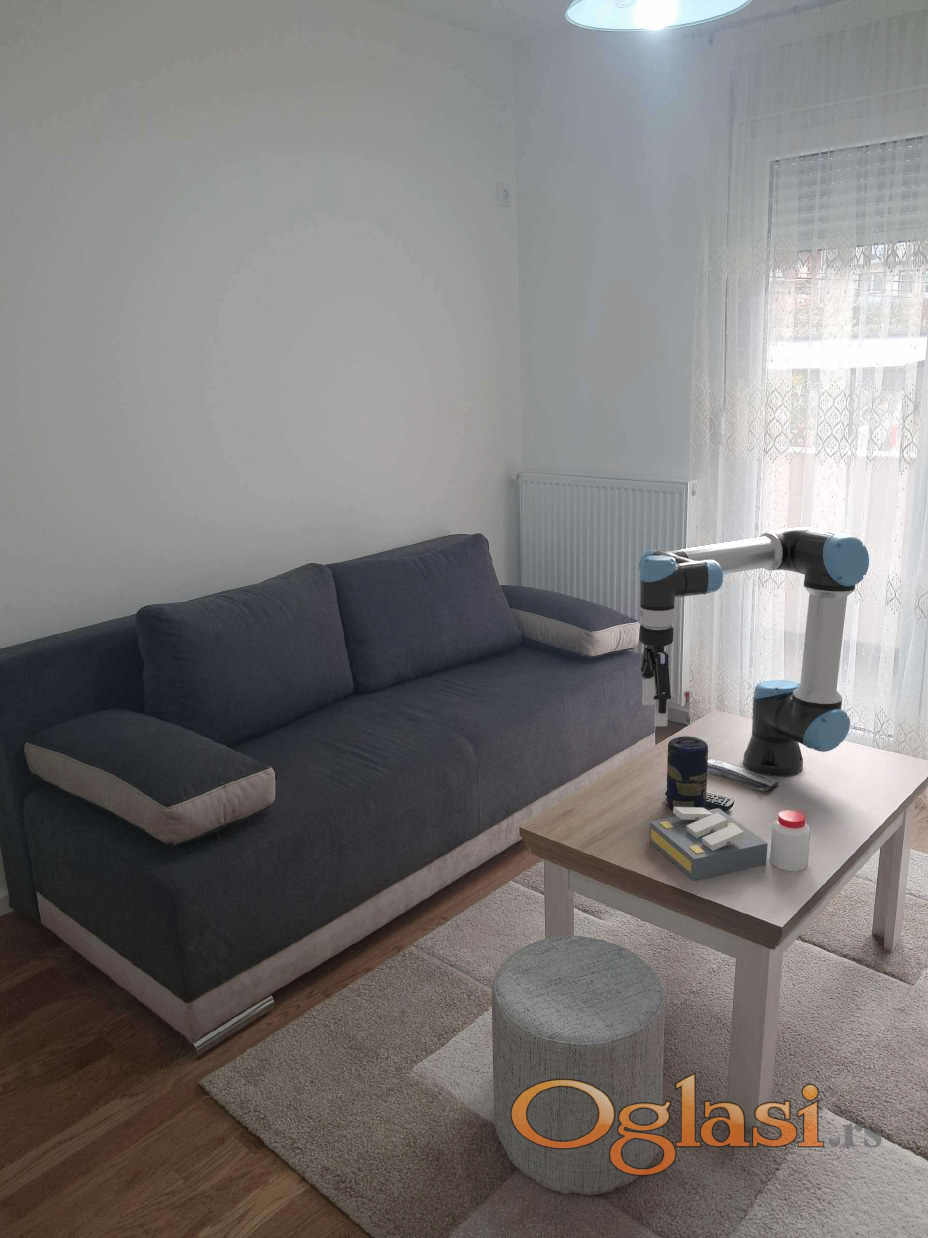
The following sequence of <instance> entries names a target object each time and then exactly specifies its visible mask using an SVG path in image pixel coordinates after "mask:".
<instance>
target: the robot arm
mask: <svg viewBox="0 0 928 1238" xmlns="http://www.w3.org/2000/svg"><path fill="white" fill-rule="evenodd" d="M869 567H870V555H869V551H868V549H867V546H866V545H865V544H864V543H863V541H862V540H861V539H860V538H858V537H856V536H854V535H850V534H848V533H845V532H841V531H835V530H834V531H833V530H828V529H822V528H821V529H820V528H817V527H812V526H811V527H809V526H802V527H801V526H799V527H792V528H786V529H780V530H774V531H768V532H764V533H762V534H761V535H760V536H759V537H757V538H748V539H743V540H742V539H741V540H737V541H730V542H728V541H727V542H723V543H716V544H715V543H714V544H710V545H709V544H708V545H704V546H697V547H690V548H683V549H678V550H669V551H663V550H660V549H657V550H656V549H651V550H648V551H646V552H644V553H643V555H642V556H641V558H640V559H639V562H638V571H639V573H640V575H639V580H640V583H639V584H640V587H639V588H640V589H639V591H640V592H639V593H640V594H639V596H640V597H639V598H640V599H639V600H640V601H639V605H640V608H639V609H640V610H639V611H637V616H639V623H640V626H639V629H638V630H639V633H638V634H639V635H638V636H639V637H638V640H639V642H640V643H641V644H642V645H643V653H642V659H641V666H640V672H641V676H642V677H643V678H642V691H641V692H642V696H641V699H642V701H641V705H642V706H654V727H668V717H669V715H668V714H669V712H668V711H669V700H671V699H672V695H671V694H672V693H671V683H670V682H671V681H670V669H669V653H667V651H665V647H666V646H670V645H671V644H673V643H674V637H675V636H674V633H675V632H674V631H675V628H674V625H675V613H676V612H675V609H676V607H675V605H676V604H675V602H676V599H677V598H682V597H689V596H699V595H700V596H701V595H707V594H711V593H715V592H717V591H718V590H720V589H721V587H722V586H723V581H724V575H727V574H729V575H730V574H733V573H734V574H735V573H741V572H747V571H752V570H759V569H764V570H766V571H770V572H771V571H779V570H780V571H781V570H782V571H789V572H794V573H798V574H801V575H804V580H803V588H805V590H806V591H807V592H808V593H809V595H808V596H809V597H808V603H807V604H808V605H807V614H806V615H807V616H806V623H805V624H806V625H805V634H804V635H805V636H804V643H803V653H802V663H801V673H800V680H799V682H798V681H797V682H796V681H795V680H794V681H793V680H787V679H786V680H785V679H784V680H783V679H780V680H779V679H778V680H777V679H775V680H765V681H762V682H759V683H758V684H757V685H756V686H755V688H754V691H753V697H752V721H751V722H752V723H751V724H752V725H751V735H750V736H751V737H750V738H749V742H748V745H747V748H746V749H745V751H744V753H743V760H742V761H743V765H744V766H745V767H746V768H747V769H749V770H750V771H753V772H755V773H757V774H762V775H766V776H775V777H787V776H793V775H796V774H799V773H800V772H802V771H803V768H804V767H803V766H804V758H803V755H802V751H801V747H800V745H802V746H805V748H808V749H810V750H814V751H817V752H822V753H825V752H830V751H832V750H834V749H836V748H837V747H839V746H840V745H841V744H842V742H844V741H845V739H846V737H847V736H848V734H849V731H850V727H851V719H850V717H849V715H848V713H847V712H846V711H844V710H843V709H842V705H843V696H842V695H841V694H840V692H839V691H838V683H839V682H838V681H839V671H840V666H841V665H840V664H841V655H842V648H843V647H842V644H843V638H844V636H843V635H844V630H845V629H844V628H845V618H846V609H847V602H848V601H847V600H848V596H849V595H851V594H852V593H853V592H855V590H856V585H858V584H860V582H862V581H863V579H864V576H866V575H867V573H868V571H869ZM655 694H656V695H655Z"/></svg>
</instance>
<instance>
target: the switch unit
mask: <svg viewBox="0 0 928 1238" xmlns="http://www.w3.org/2000/svg"><path fill="white" fill-rule="evenodd" d="M707 810H708V811H709V812H710V813H712V814H715V813H717V812H718V813H719V814H720V815H722V816H723V817H724V818H726V819H727V822H728V825H727V826H724V827H722V828H720V829H717V830H715V832H716V831H719V830H721V829H723V828H726V827H728V826H731V825H733V824H734V825H735V826H737V827H738V828H740V829H741V830H742V831H744V838H741V839H739V840H737V841H734V842H732V843H731V845H730V846H728V845H725V846H723V847H721V848H718V849H716V850H714V851H712V850H711V849H709V848H708V847H707V846H706V845H704V844H703V841H702V837H705V836H707V835H709V834H712V833H711V832H710V833H708V834H705V835H703V836H701V837H698V838H696V837H694V836H693V835H692V834H691V833H689V832H688V831H687V826H686V825H689V824H691V823H694V822H696V821H695V820H684V819H680V818H679V817H678V816H676V815H675V816H671V817H666V818H663V819H661V818H660V819H657V820H656V819H655V820H651V821H650V822H649V843H650V844H651V845H652V846H654V848H656V849H657V850H658V851H659V852H660V853H661V854H663V856H665V857H666V858H667V859H668V860H669V861H670V862H672V863H673V864H674V865H675V866H676V867H677V868H678V869H680V870H681V871H682V872H683V873H684V874H685V875H686V876H688V877H689V878H690V879H691V880H692V881H698V880H702V879H706V878H707V879H708V878H711V877H716V876H721V875H725V874H729V873H734V872H737V871H744V870H747V869H752V868H756V867H760V866H765V865H767V860H768V859H767V857H768V845H769V843H768V842H767V841H765V840H764V839H762V838H761V837H760V836H758V835H757V834H756V833H754V832H753V831H752V830H750V829H749V828H747V827H746V826H744V825H743V824H742V823H740V822H738V821H737V820H736V819H735V818H733V817H732V816H731V815H729V814H728V813H726V812H725V811H723V810H722V809H721V808H719V807H718V808H712V809H707Z"/></svg>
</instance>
